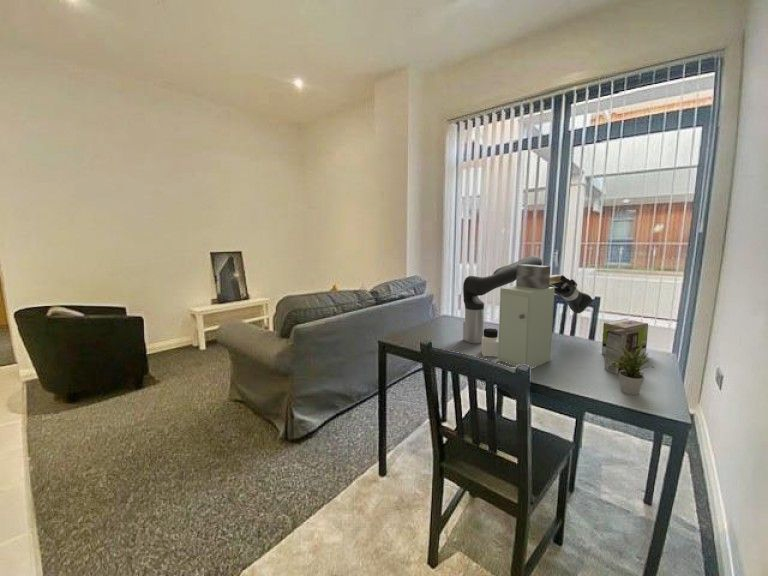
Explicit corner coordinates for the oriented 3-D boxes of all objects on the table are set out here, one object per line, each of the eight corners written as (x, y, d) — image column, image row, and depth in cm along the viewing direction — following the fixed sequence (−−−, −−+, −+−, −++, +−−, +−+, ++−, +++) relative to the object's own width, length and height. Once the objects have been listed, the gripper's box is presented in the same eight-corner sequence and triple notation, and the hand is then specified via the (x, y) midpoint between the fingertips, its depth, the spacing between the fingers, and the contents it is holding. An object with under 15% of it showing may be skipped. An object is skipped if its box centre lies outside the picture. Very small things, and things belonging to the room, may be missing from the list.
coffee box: (620, 365, 142) (624, 327, 139) (635, 371, 136) (639, 332, 133) (603, 368, 140) (606, 330, 137) (617, 374, 134) (621, 334, 131)
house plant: (611, 377, 131) (615, 336, 128) (657, 389, 121) (662, 344, 119) (600, 389, 122) (603, 345, 119) (648, 403, 112) (654, 355, 109)
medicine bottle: (499, 357, 154) (499, 331, 152) (482, 356, 155) (483, 330, 153) (497, 351, 161) (498, 326, 159) (481, 351, 162) (481, 326, 160)
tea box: (623, 348, 161) (626, 317, 159) (646, 355, 152) (650, 323, 149) (600, 353, 156) (603, 321, 154) (622, 361, 147) (625, 327, 144)
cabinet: (495, 361, 150) (498, 288, 144) (521, 351, 160) (524, 283, 155) (525, 371, 138) (529, 293, 133) (550, 360, 149) (554, 287, 144)
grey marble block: (516, 285, 150) (517, 265, 148) (546, 280, 163) (547, 261, 162) (542, 289, 140) (543, 267, 139) (572, 282, 154) (573, 262, 152)
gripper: (554, 281, 170) (539, 267, 161) (585, 284, 159) (570, 270, 149) (549, 295, 169) (534, 282, 160) (580, 299, 158) (565, 285, 148)
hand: (552, 276), depth 155 cm, fingers open, 8 cm apart
